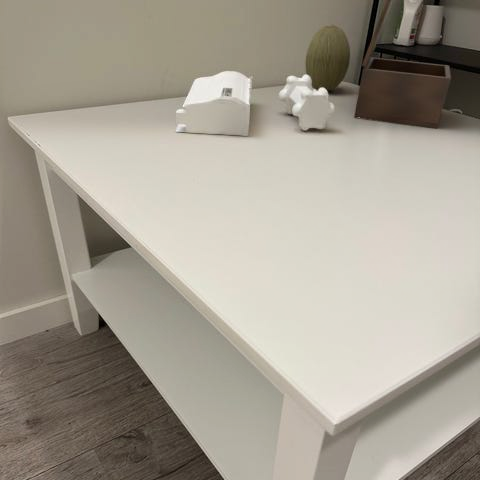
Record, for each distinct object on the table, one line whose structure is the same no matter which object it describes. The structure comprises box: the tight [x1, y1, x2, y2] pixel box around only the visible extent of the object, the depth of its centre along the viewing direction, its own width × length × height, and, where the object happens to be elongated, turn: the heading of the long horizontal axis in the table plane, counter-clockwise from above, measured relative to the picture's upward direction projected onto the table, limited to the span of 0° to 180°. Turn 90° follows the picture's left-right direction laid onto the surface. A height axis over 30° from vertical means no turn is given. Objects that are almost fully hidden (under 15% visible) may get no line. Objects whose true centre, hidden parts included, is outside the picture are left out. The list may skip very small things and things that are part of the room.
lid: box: [361, 0, 394, 68], centre depth 102 cm, size 19×15×9 cm
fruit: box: [305, 24, 351, 92], centre depth 123 cm, size 11×11×15 cm
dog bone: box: [278, 73, 335, 132], centre depth 101 cm, size 15×9×8 cm, turn 10°
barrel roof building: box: [175, 70, 253, 137], centre depth 102 cm, size 25×15×7 cm, turn 178°
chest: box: [353, 56, 452, 130], centre depth 109 cm, size 18×15×10 cm
